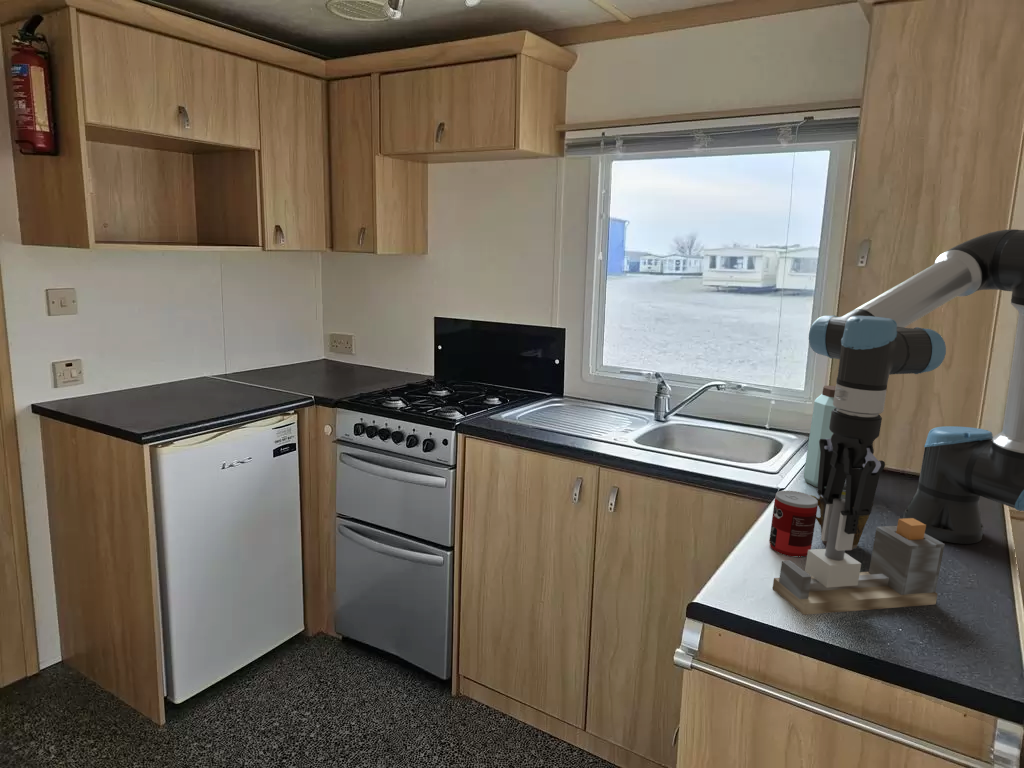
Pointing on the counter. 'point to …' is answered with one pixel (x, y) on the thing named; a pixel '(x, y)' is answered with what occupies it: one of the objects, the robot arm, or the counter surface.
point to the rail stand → (871, 578)
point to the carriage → (833, 557)
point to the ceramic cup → (861, 520)
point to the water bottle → (818, 433)
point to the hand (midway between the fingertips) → (836, 544)
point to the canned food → (793, 523)
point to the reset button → (911, 529)
